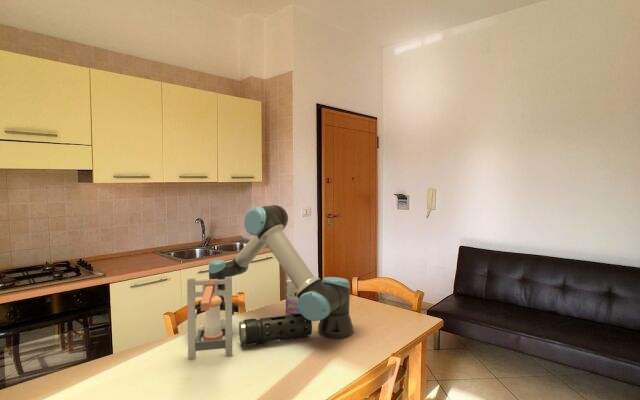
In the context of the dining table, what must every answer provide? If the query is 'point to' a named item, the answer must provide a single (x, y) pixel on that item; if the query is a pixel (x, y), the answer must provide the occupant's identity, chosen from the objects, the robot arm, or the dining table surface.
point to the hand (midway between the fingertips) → (211, 317)
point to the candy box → (291, 298)
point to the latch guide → (192, 315)
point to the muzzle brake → (274, 329)
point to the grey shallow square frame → (209, 341)
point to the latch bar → (207, 297)
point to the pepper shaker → (213, 320)
